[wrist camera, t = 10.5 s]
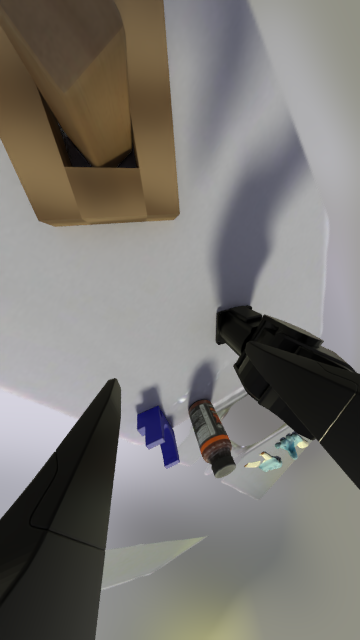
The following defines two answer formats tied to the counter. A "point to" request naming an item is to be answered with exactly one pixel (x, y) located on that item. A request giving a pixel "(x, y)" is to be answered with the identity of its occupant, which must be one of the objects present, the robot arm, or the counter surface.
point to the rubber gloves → (285, 444)
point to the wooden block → (77, 69)
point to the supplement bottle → (212, 438)
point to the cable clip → (158, 434)
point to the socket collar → (91, 182)
